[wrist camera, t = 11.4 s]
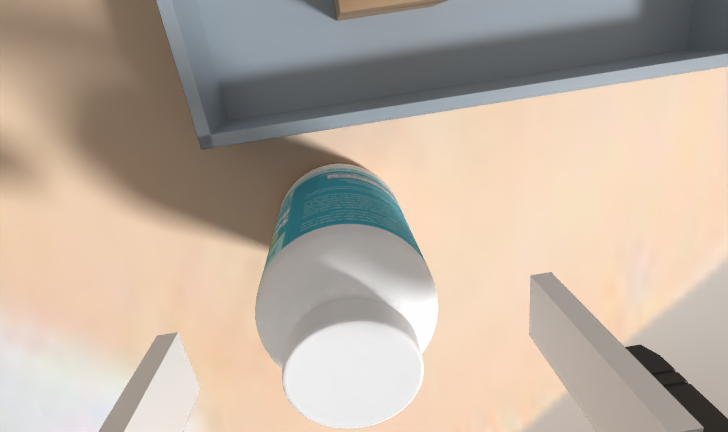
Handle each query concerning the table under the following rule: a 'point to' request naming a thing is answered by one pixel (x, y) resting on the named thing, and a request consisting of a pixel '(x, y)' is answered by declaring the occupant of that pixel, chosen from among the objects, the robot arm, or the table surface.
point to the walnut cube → (377, 7)
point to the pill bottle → (345, 299)
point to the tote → (418, 57)
